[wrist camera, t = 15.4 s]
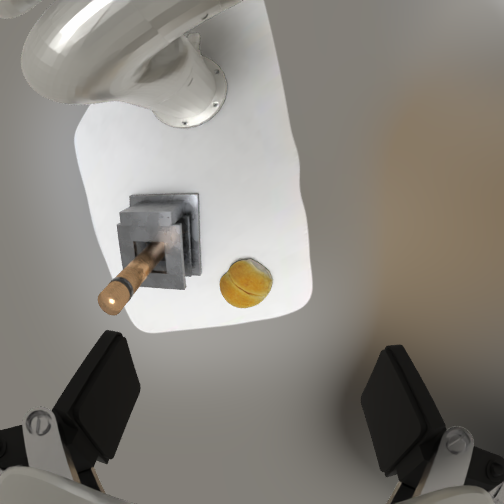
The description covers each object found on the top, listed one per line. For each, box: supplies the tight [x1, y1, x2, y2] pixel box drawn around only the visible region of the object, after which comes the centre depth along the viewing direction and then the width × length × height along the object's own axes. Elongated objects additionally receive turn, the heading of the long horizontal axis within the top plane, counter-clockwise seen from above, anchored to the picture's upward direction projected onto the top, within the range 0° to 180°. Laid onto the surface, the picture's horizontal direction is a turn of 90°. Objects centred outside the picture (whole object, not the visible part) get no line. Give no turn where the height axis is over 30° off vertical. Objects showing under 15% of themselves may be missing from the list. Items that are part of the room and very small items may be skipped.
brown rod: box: [98, 242, 165, 315], centre depth 36 cm, size 3×3×20 cm
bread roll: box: [220, 259, 272, 308], centre depth 47 cm, size 8×9×4 cm
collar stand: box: [117, 194, 201, 290], centre depth 42 cm, size 14×12×8 cm
